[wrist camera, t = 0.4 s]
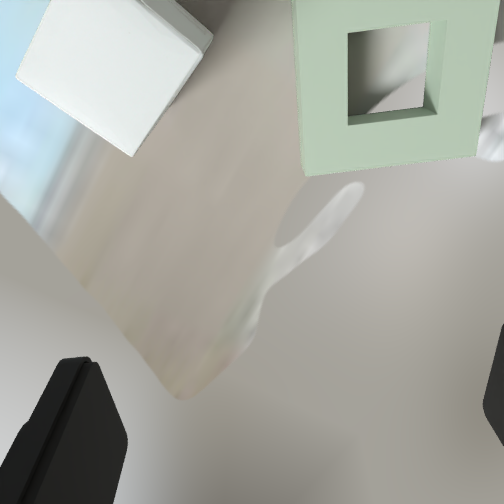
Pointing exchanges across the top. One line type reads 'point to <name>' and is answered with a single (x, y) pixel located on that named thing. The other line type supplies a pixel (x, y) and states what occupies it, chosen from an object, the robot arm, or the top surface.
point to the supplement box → (114, 63)
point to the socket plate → (398, 121)
